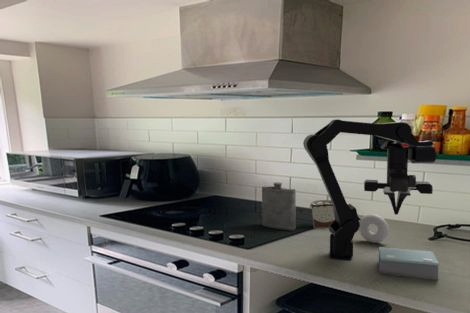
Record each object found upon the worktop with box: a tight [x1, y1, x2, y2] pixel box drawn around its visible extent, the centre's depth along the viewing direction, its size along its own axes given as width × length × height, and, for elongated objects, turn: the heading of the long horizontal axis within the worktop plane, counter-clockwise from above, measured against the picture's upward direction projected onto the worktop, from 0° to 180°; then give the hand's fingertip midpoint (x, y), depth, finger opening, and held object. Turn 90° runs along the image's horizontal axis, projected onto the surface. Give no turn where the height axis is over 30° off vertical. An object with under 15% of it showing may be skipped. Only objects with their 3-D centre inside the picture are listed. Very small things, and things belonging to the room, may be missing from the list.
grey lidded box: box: [378, 251, 439, 281], centre depth 103 cm, size 14×9×4 cm, turn 72°
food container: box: [309, 199, 335, 229], centre depth 147 cm, size 12×6×10 cm, turn 92°
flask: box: [261, 181, 297, 231], centre depth 145 cm, size 4×14×18 cm, turn 57°
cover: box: [378, 246, 440, 267], centre depth 102 cm, size 14×9×1 cm
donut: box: [358, 213, 390, 244], centre depth 126 cm, size 10×4×10 cm, turn 54°
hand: (396, 214), depth 113 cm, fingers closed
